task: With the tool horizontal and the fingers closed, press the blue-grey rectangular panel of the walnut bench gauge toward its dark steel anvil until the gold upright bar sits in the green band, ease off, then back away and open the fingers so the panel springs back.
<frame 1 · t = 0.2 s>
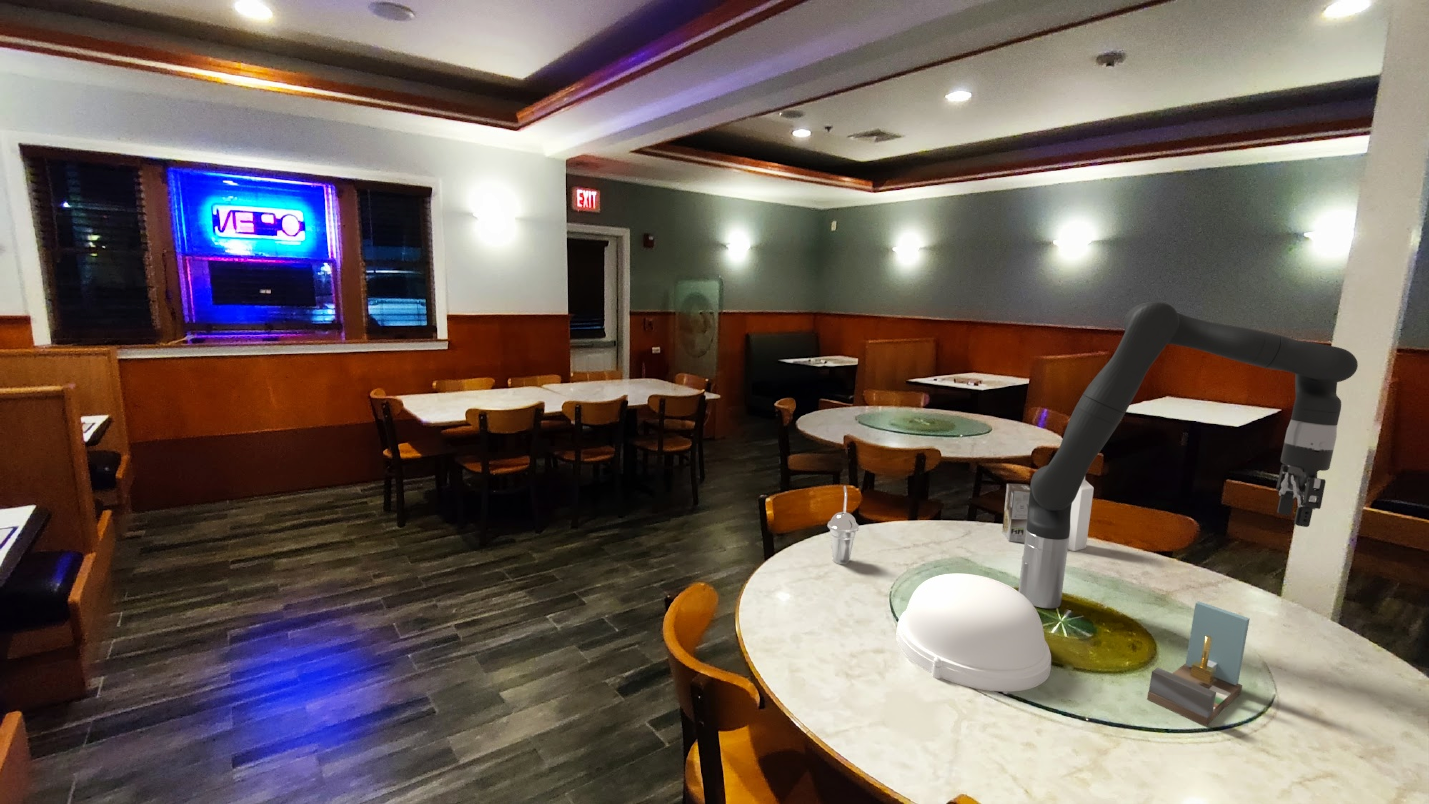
hand: (1292, 519, 134), 29 cm above the table, tool pointing down, fingers open, 8 cm apart
coffee box: (1015, 538, 199), on the table
blue-grey rectangular panel: (1213, 644, 122), point 8 cm above the table, slide at 0.0 cm
cup with straw: (841, 561, 177), on the table
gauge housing: (1194, 695, 120), on the table
milk: (1070, 547, 193), on the table
gold upright bar: (1205, 657, 120), point 7 cm above the table, slide at 0.0 cm
dome cover: (970, 650, 134), on the table
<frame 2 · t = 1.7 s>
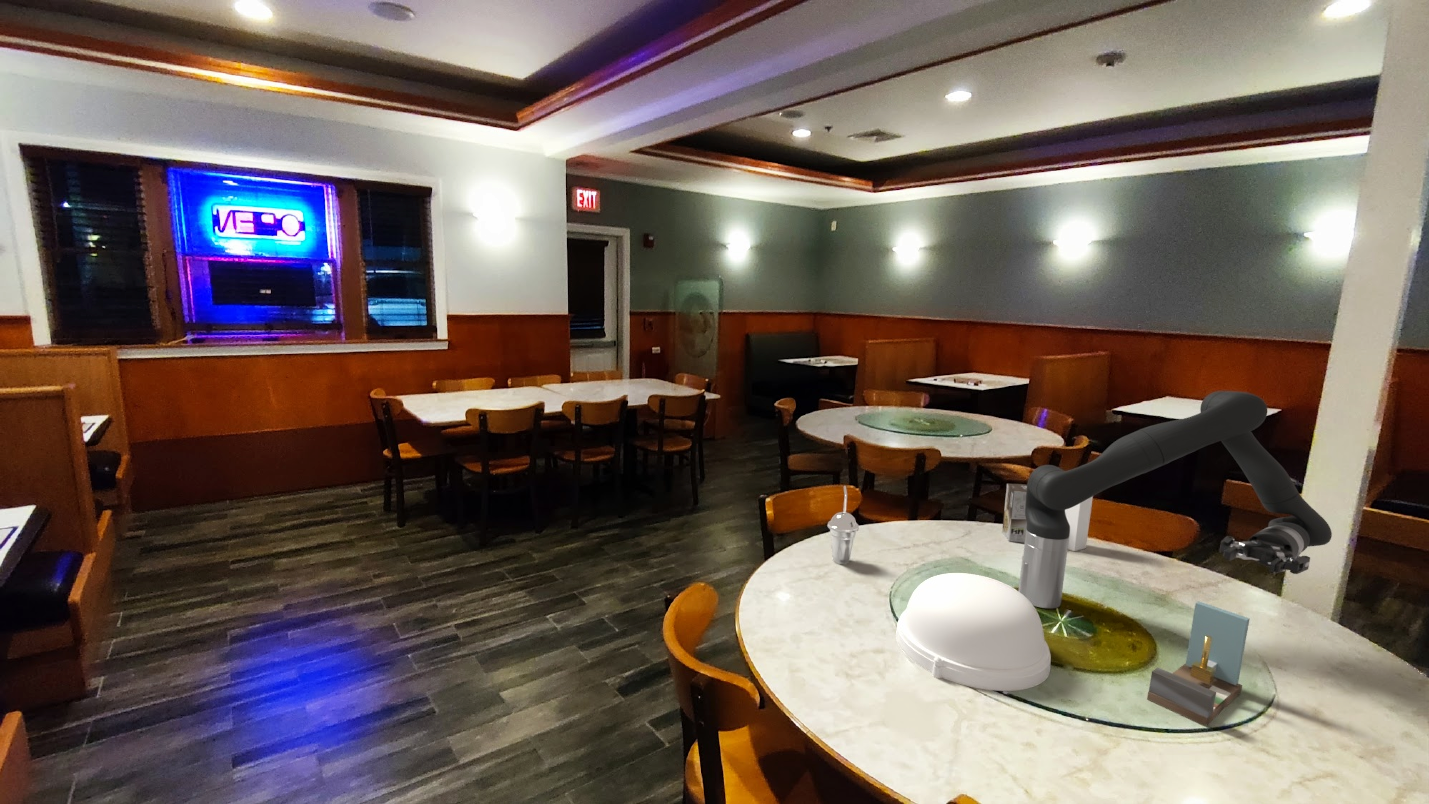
hand: (1249, 562, 127), 22 cm above the table, tool horizontal, fingers open, 6 cm apart
nothing on the table moved.
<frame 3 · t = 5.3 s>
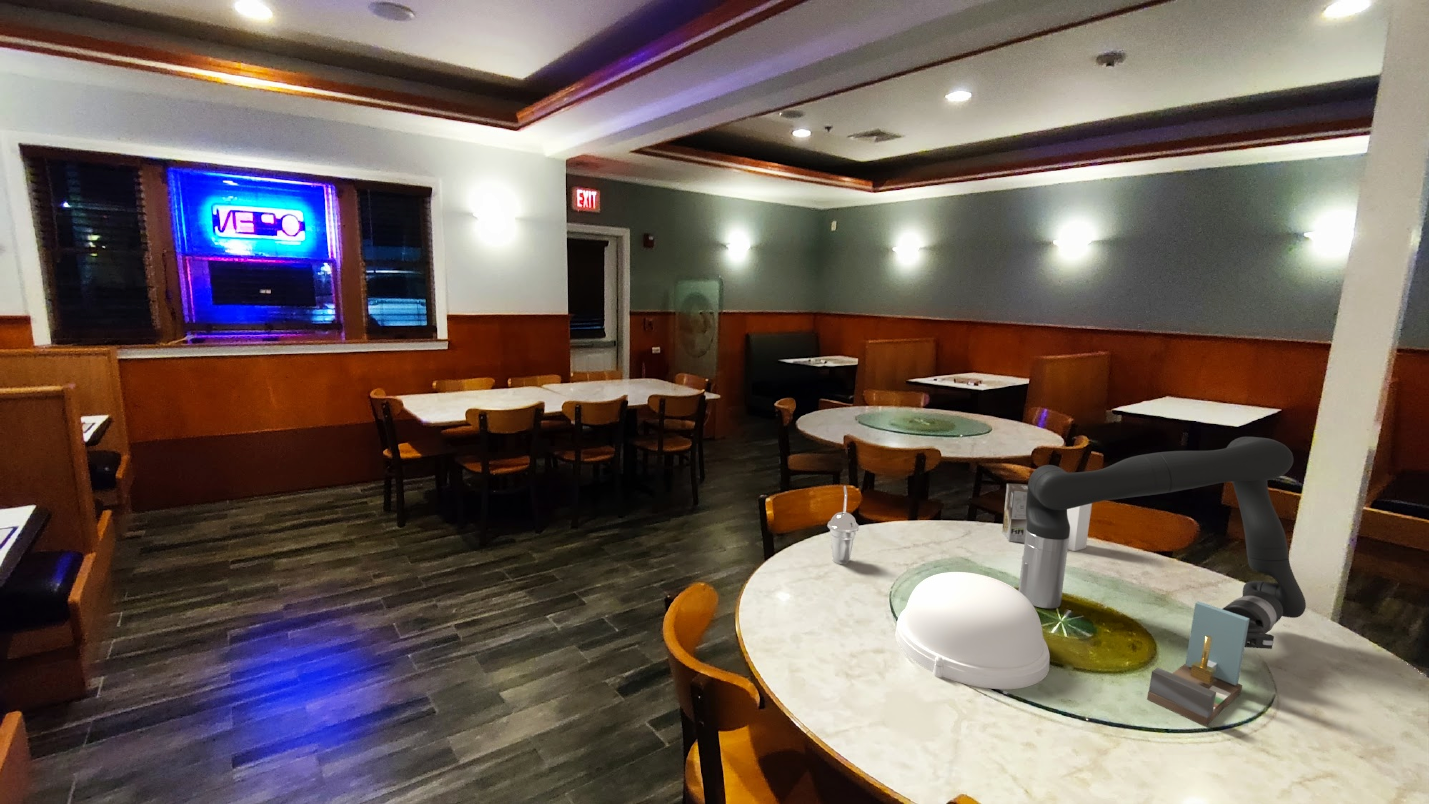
hand: (1217, 641, 123), 9 cm above the table, tool horizontal, fingers closed
blue-grey rectangular panel: (1213, 644, 122), point 8 cm above the table, slide at 0.1 cm, touching gripper
everything else where it was.
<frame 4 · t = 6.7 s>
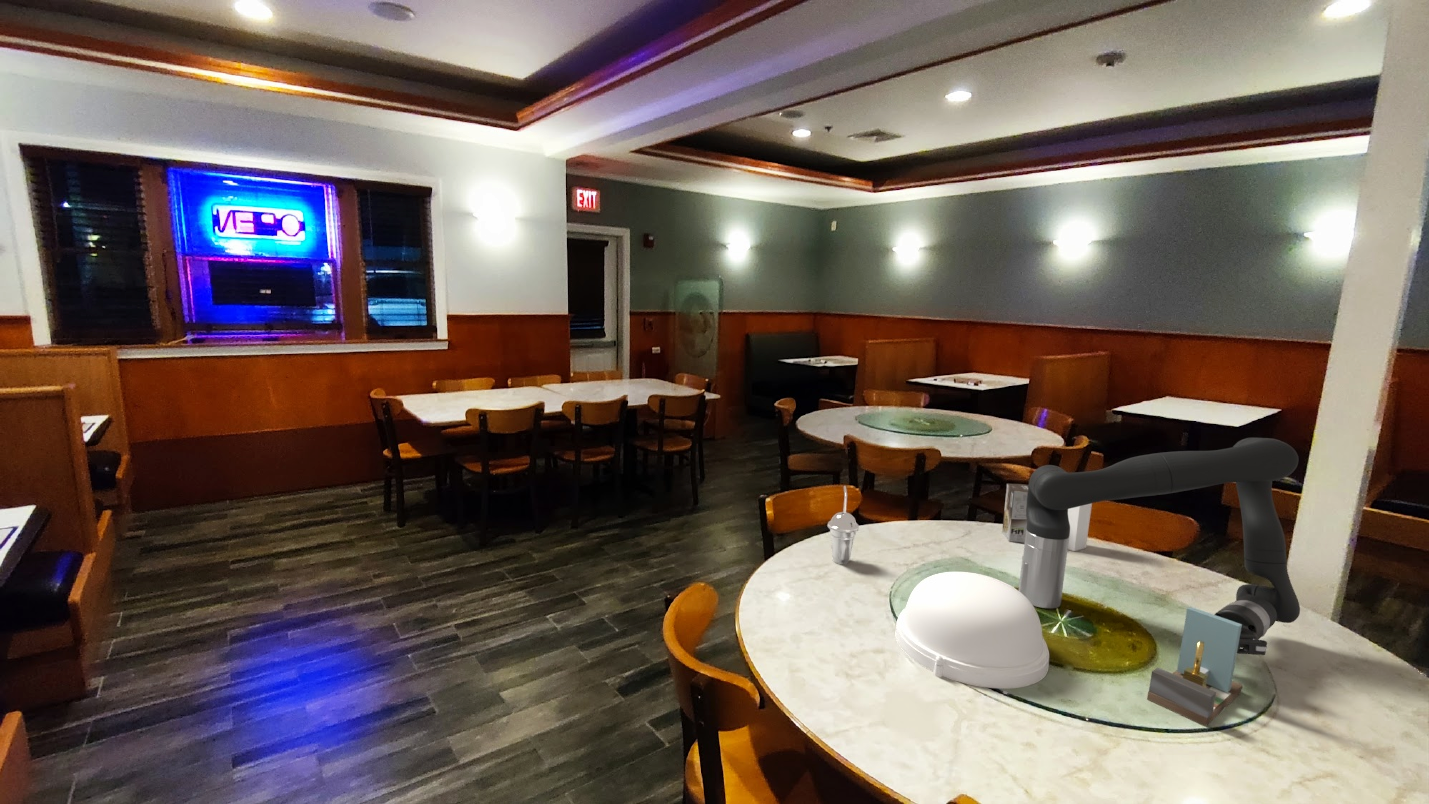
hand: (1209, 647, 121), 9 cm above the table, tool horizontal, fingers closed
blue-grey rectangular panel: (1205, 650, 119), point 8 cm above the table, slide at 4.2 cm, touching gripper, gold upright bar
gold upright bar: (1197, 663, 118), point 7 cm above the table, slide at 3.7 cm, touching blue-grey rectangular panel
everything else where it was.
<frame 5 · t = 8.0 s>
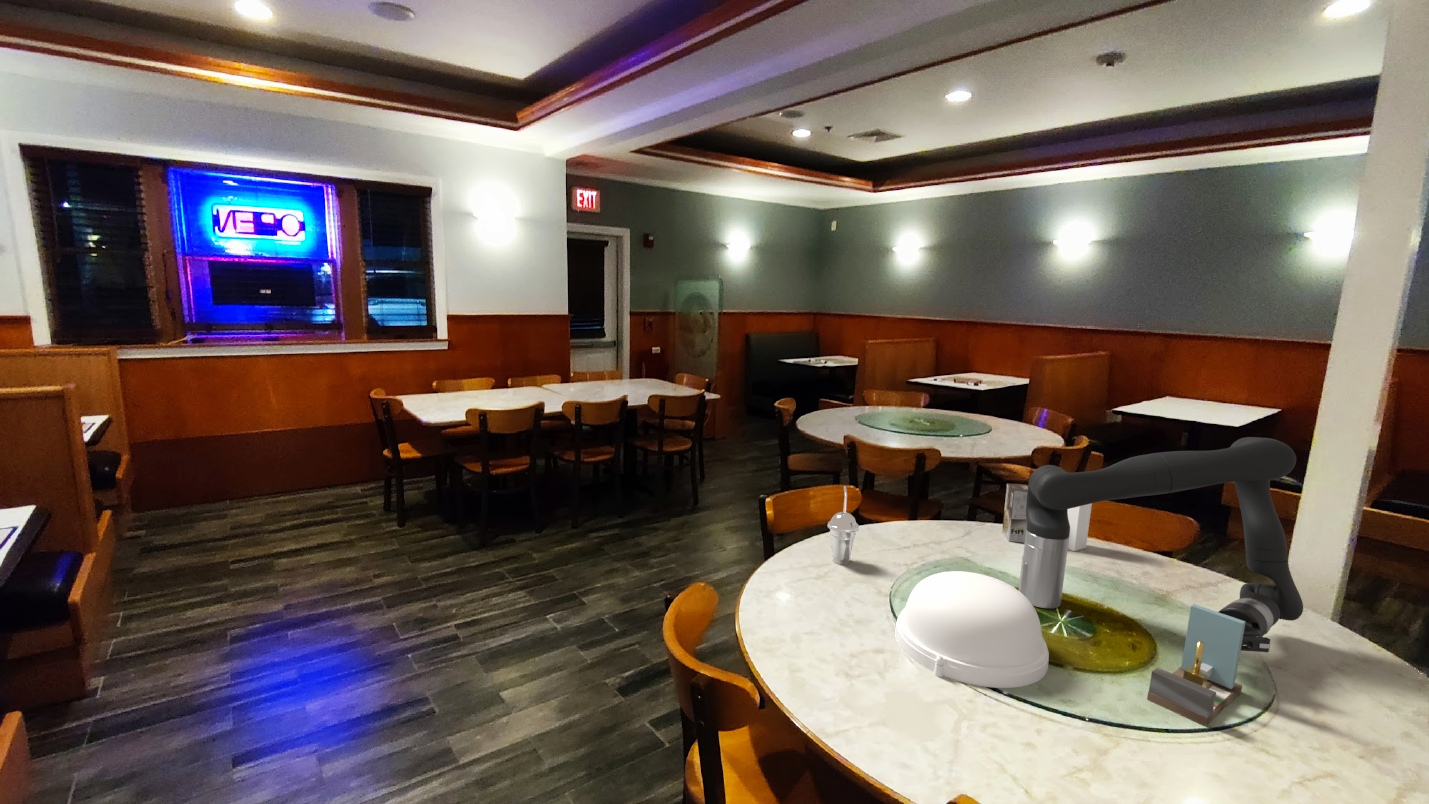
hand: (1213, 644, 122), 9 cm above the table, tool horizontal, fingers closed
blue-grey rectangular panel: (1209, 647, 120), point 8 cm above the table, slide at 2.2 cm, touching gripper
gold upright bar: (1197, 663, 118), point 7 cm above the table, slide at 3.7 cm
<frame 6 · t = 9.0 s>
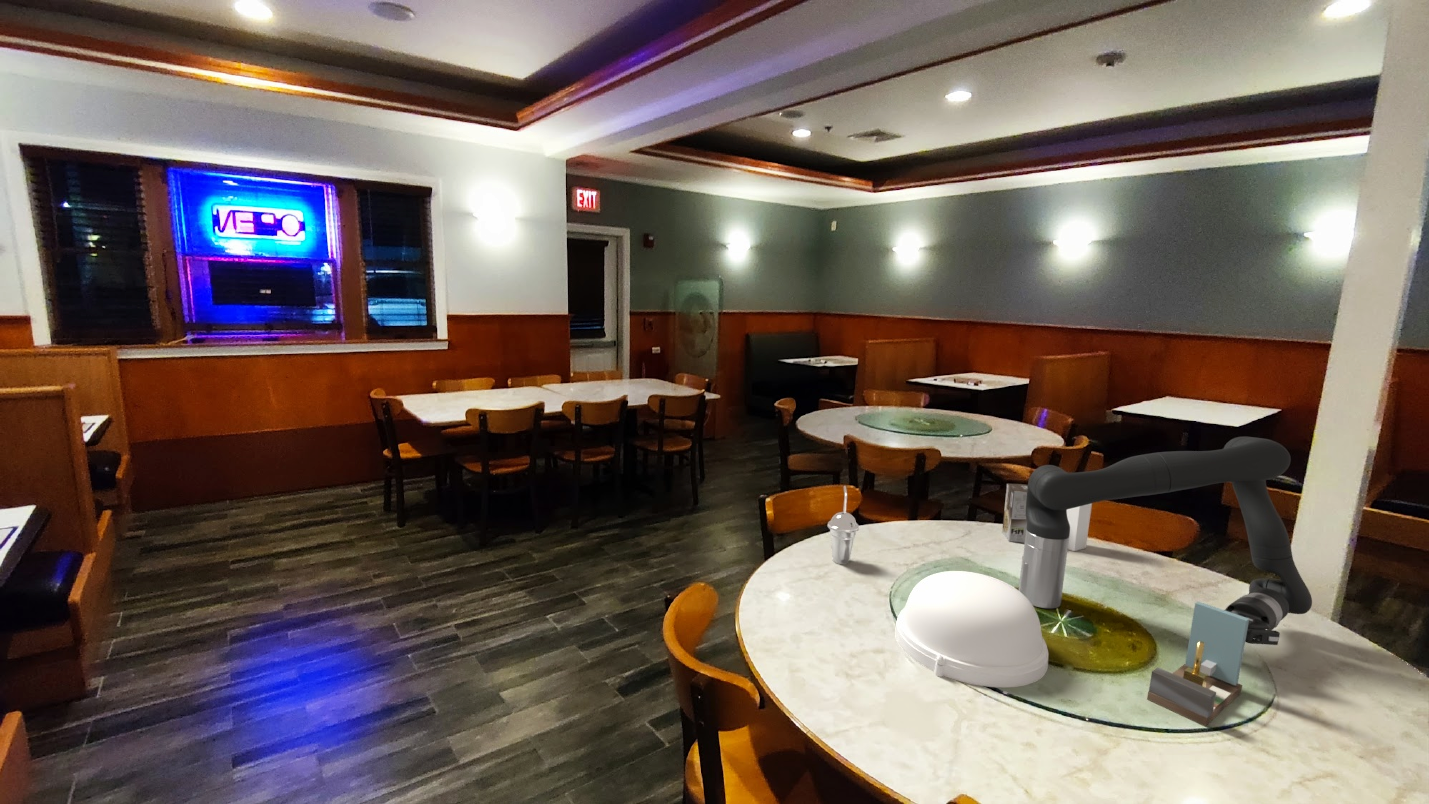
hand: (1223, 637, 124), 8 cm above the table, tool horizontal, fingers closed
blue-grey rectangular panel: (1213, 644, 121), point 8 cm above the table, slide at 0.2 cm
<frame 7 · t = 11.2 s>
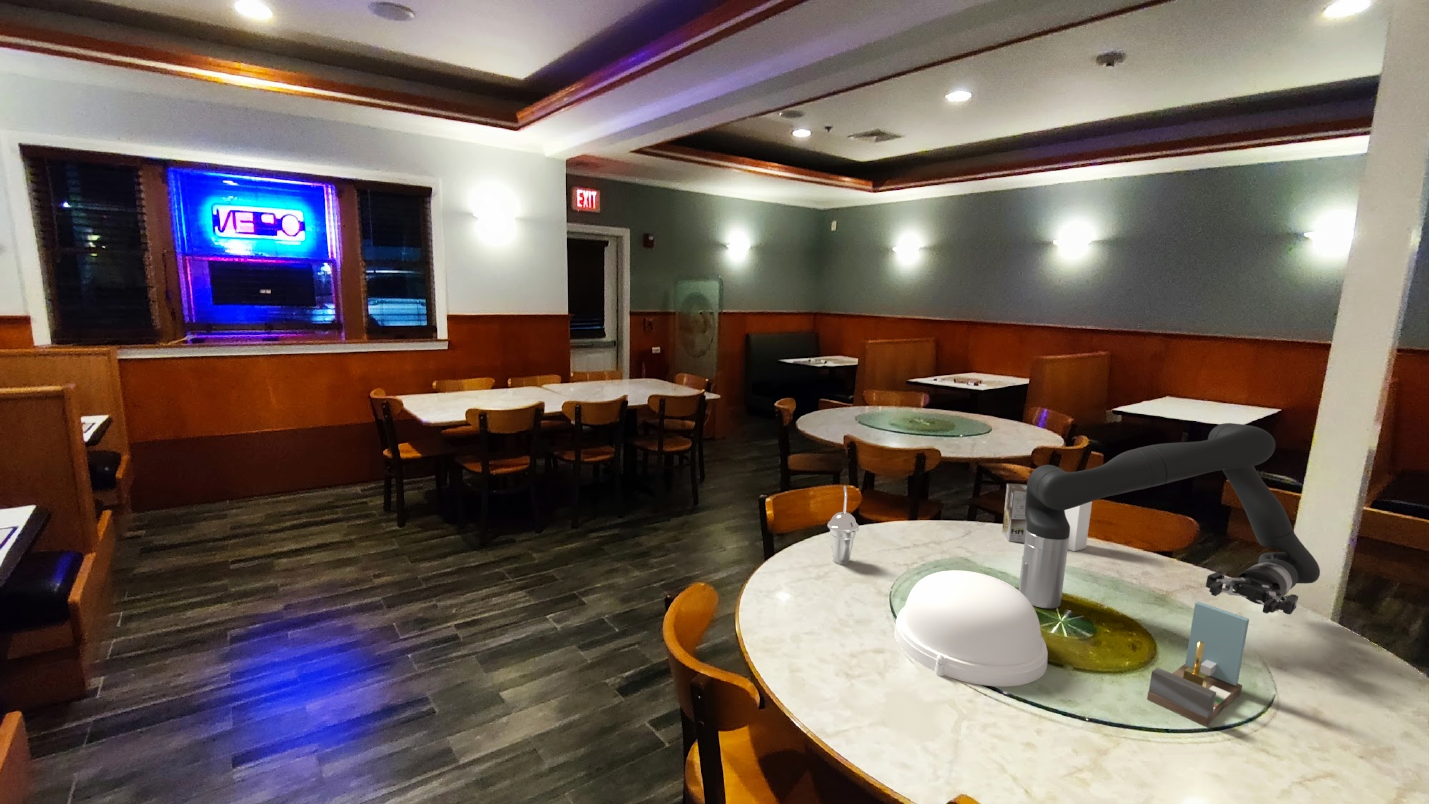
hand: (1239, 599, 130), 13 cm above the table, tool horizontal, fingers open, 8 cm apart
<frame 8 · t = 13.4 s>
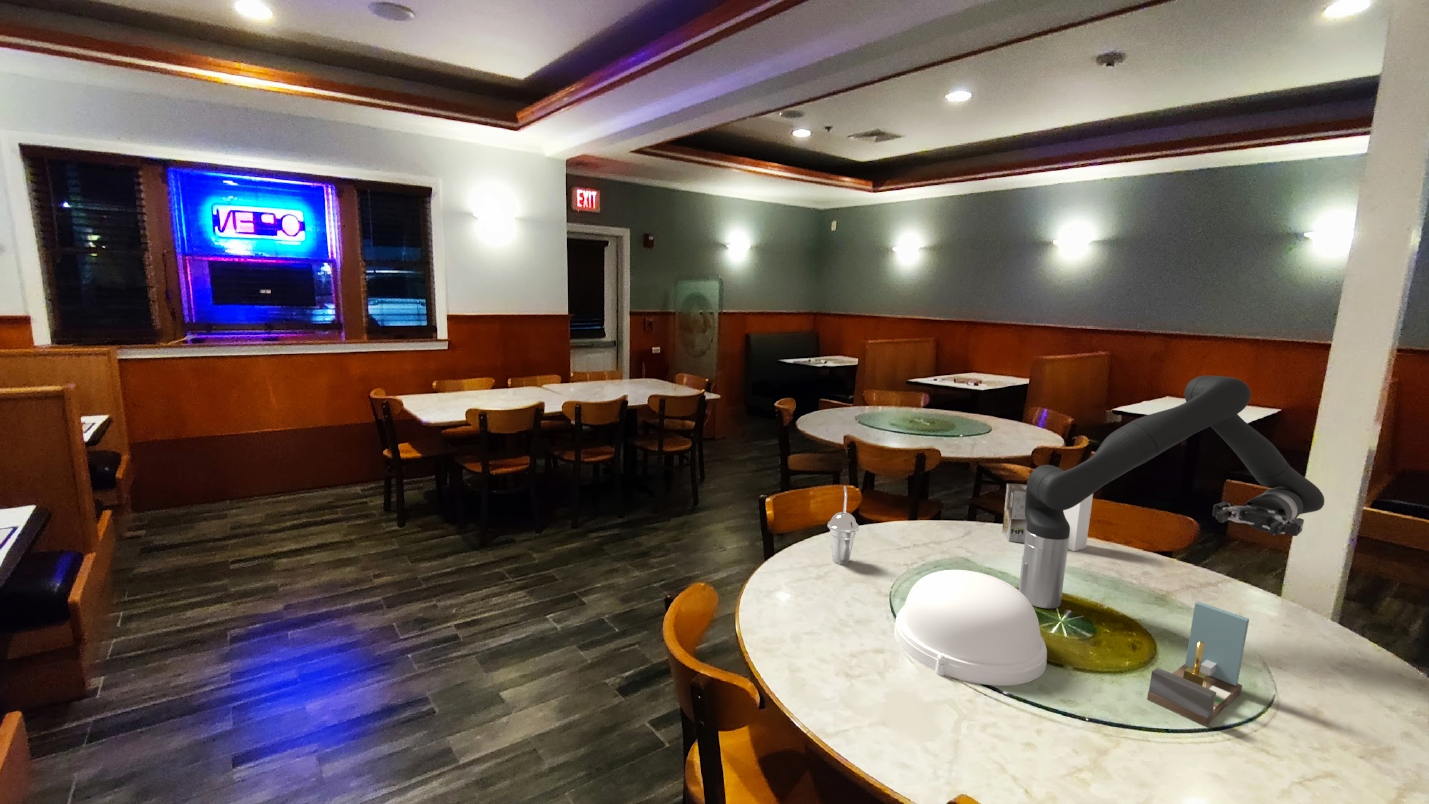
hand: (1245, 523, 132), 28 cm above the table, tool horizontal, fingers open, 8 cm apart
at the end: gold upright bar slide at 3.7 cm; blue-grey rectangular panel slide at 0.2 cm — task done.
